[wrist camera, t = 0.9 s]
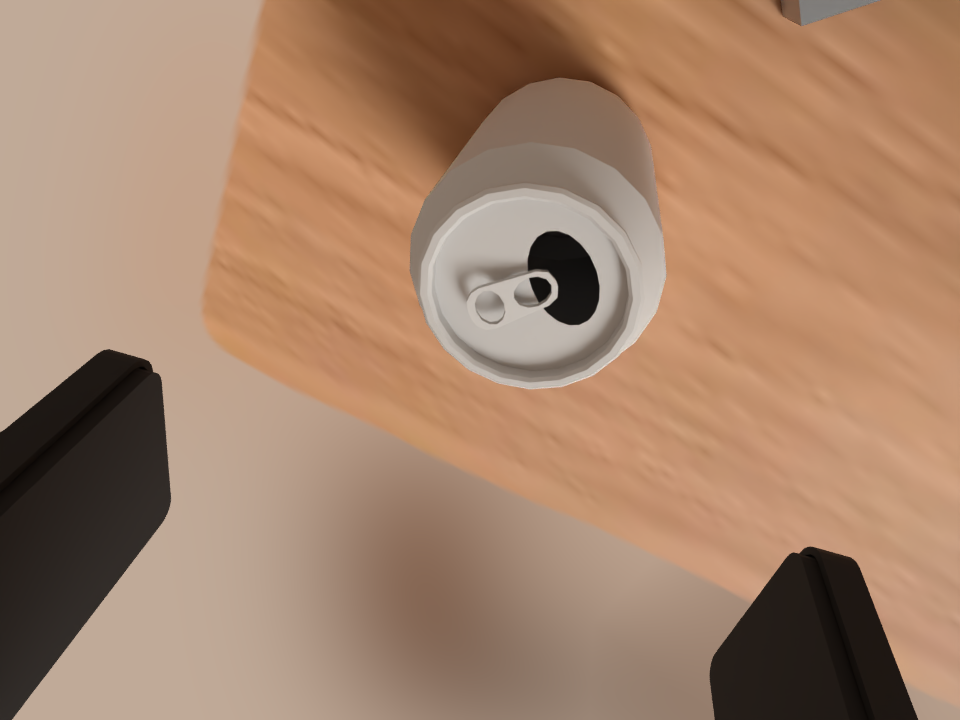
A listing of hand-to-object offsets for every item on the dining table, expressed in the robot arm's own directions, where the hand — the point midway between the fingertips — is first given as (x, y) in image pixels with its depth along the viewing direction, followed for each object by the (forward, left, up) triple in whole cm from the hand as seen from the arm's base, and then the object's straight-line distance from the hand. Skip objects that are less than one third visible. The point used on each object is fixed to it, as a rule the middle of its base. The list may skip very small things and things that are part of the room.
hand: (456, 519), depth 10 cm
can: (-1, 0, -21) cm, 21 cm away
